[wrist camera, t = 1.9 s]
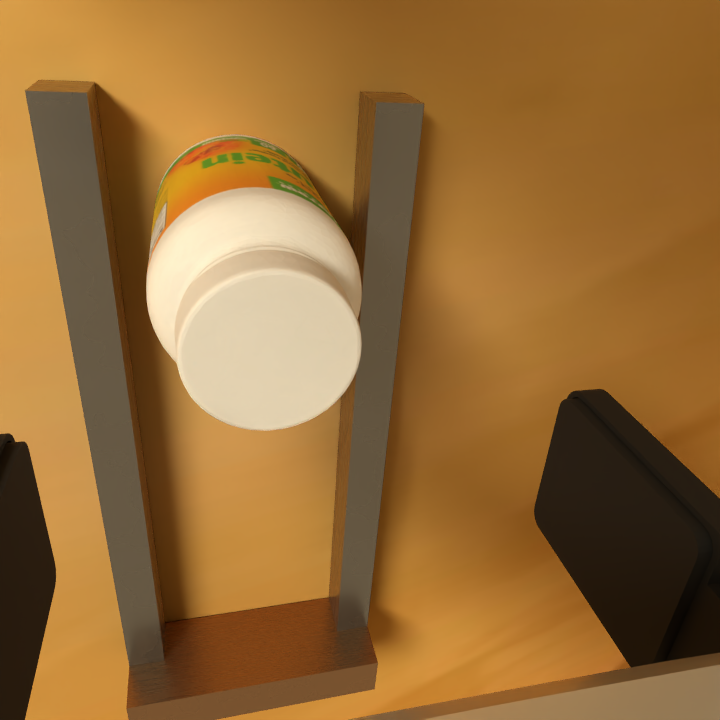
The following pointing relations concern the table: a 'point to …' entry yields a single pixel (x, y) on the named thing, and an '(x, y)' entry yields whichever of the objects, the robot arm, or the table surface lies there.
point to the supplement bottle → (252, 285)
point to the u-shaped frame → (124, 447)
